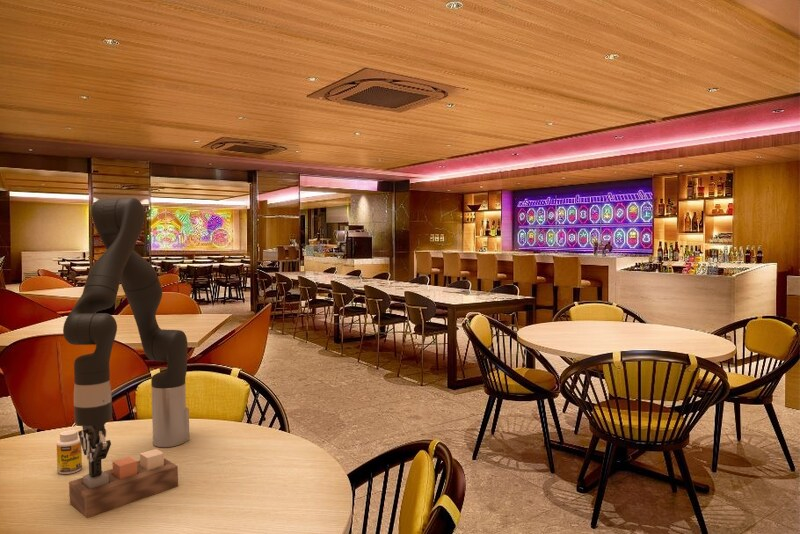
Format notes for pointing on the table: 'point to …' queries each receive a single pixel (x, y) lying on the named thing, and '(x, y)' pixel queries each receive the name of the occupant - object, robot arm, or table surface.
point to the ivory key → (151, 459)
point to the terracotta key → (124, 467)
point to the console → (122, 489)
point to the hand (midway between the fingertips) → (95, 475)
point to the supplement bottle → (69, 452)
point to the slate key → (95, 480)
